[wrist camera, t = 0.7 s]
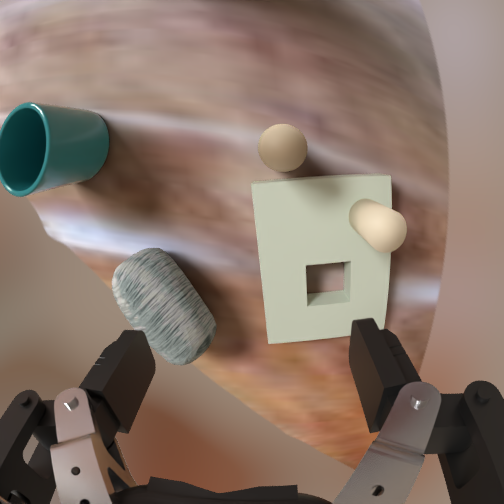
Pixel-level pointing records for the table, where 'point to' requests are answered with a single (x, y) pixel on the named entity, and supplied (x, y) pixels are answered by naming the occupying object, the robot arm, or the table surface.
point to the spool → (163, 306)
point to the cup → (50, 147)
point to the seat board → (325, 251)
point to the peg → (282, 147)
